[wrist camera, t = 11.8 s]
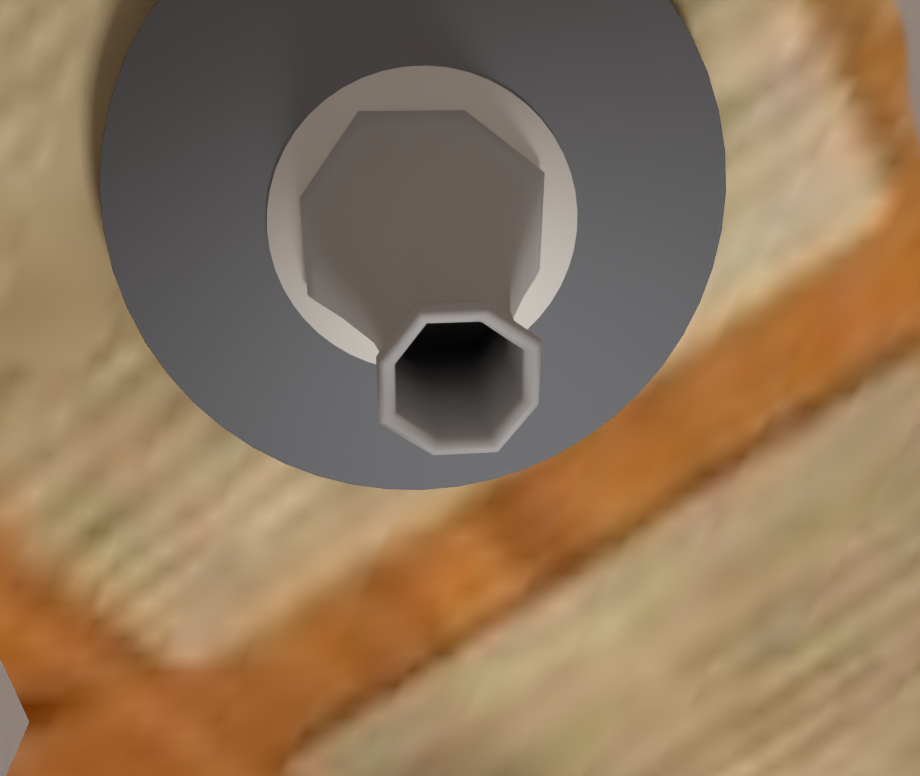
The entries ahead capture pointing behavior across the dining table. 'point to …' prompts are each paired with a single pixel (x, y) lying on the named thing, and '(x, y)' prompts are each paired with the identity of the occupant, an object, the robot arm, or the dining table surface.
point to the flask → (432, 270)
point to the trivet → (310, 142)
